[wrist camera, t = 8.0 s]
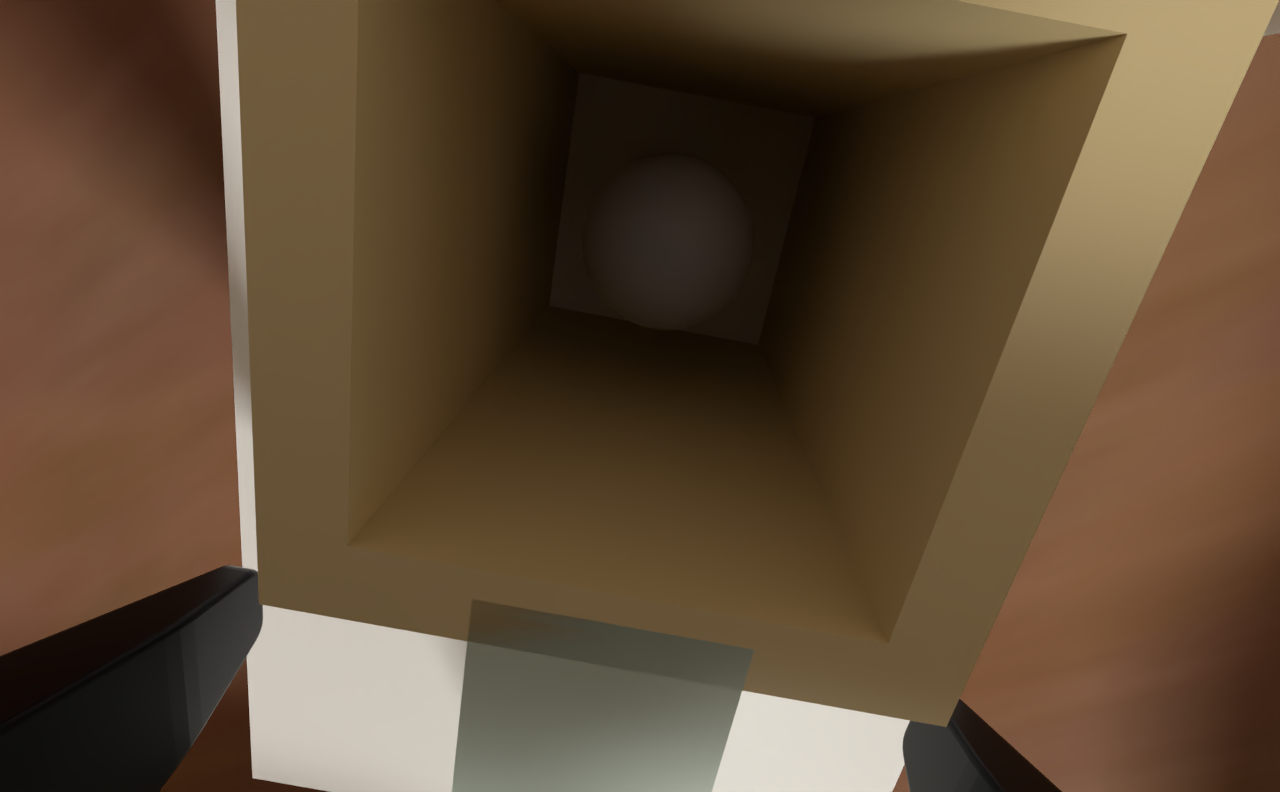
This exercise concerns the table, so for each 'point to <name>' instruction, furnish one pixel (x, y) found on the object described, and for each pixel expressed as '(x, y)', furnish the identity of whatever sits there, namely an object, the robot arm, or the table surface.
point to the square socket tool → (696, 348)
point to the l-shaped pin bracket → (586, 282)
